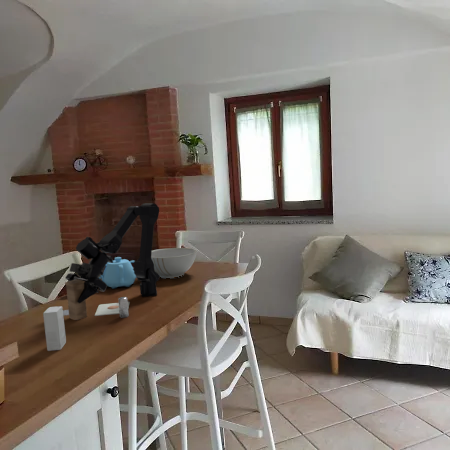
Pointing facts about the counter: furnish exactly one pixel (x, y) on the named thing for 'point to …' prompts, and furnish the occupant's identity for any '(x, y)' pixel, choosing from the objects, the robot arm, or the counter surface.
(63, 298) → the counter surface
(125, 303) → the pin
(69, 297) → the tan tall block
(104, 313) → the board
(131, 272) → the decorative pot
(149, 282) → the robot arm
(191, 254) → the decorative bowl
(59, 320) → the skincare box
